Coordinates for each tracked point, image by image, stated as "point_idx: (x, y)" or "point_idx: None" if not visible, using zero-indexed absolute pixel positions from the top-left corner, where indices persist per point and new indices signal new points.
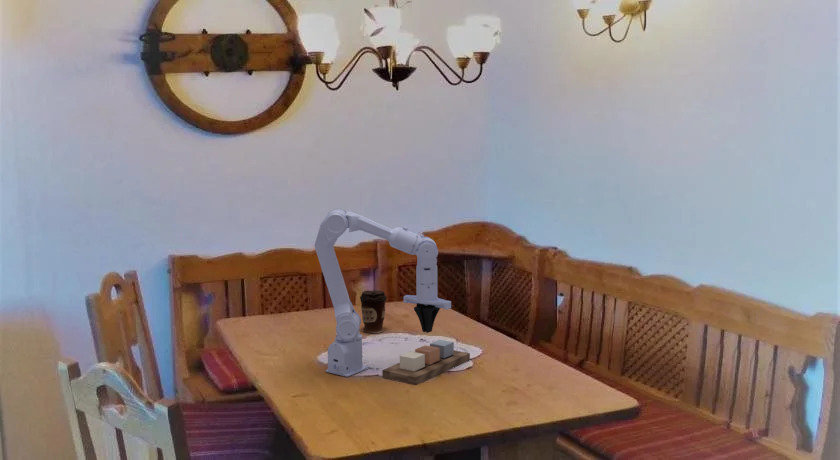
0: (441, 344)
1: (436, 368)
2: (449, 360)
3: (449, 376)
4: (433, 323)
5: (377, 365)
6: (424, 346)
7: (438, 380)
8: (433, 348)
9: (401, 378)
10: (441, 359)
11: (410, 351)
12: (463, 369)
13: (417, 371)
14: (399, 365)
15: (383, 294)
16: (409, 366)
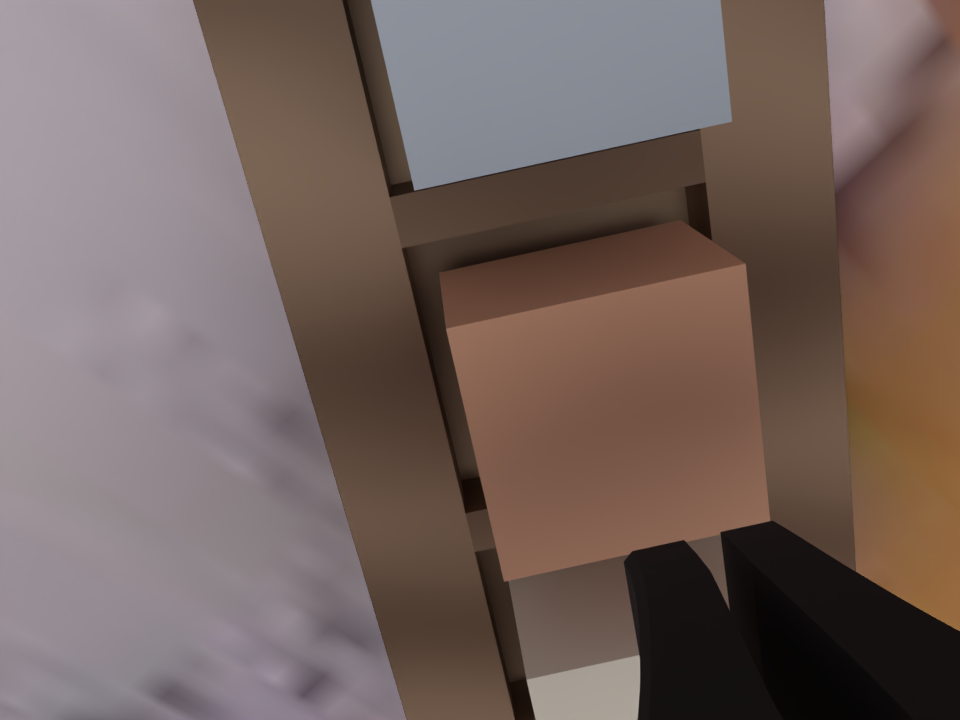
0: (622, 76)
1: (846, 452)
2: (779, 107)
3: (940, 336)
4: (915, 614)
5: (84, 646)
6: (491, 385)
7: (921, 499)
8: (684, 354)
9: None
10: (660, 158)
11: (538, 685)
12: (928, 19)
13: None
14: (456, 679)
15: None
16: None
